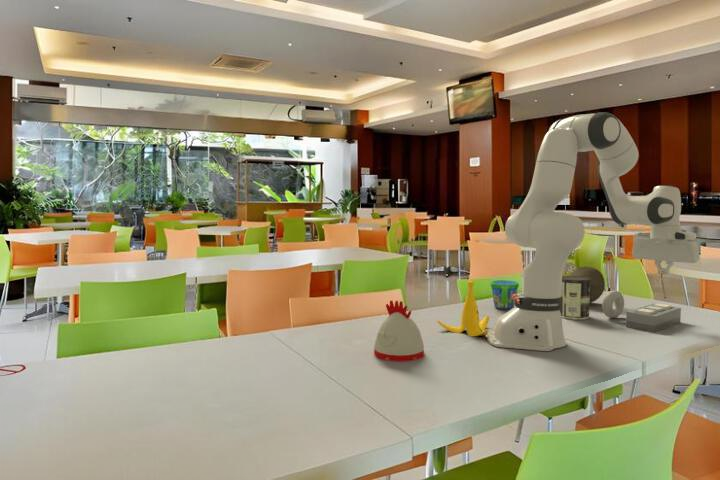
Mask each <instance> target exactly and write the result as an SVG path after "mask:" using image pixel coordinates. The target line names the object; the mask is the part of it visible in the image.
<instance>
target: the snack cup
mask: <svg viewBox="0 0 720 480" xmlns="http://www.w3.org/2000/svg"><path fill="white" fill-rule="evenodd" d="M519 285H520V284H519V282H518V281H515V280H507V279H506V280H505V279H504V280H503V279H497V280H492V281H490V287H491V291H492V301H493V306H494V308H495V309H498V310H507V311H509V310H511V309H512V308H514V307H515V301H513V299H512V295H513V294H517V293H518V292H517V291H518V289H519ZM517 295H518V294H517Z"/></svg>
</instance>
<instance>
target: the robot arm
mask: <svg viewBox="0 0 720 480" xmlns="http://www.w3.org/2000/svg"><path fill="white" fill-rule="evenodd" d="M590 151H594V152H595V155H596V157H597V158H598V161H599V165H598V167H597V176H598V178H599V179H598V180H599V182H600V185H601V188H602V190H603V193H604V195H605V198H606V201H607V205H608V209H609V215H610V217H611V219H612V221H614V223H616V224H617V225H620V226H622V225H623V226H624V225H627V226H628V225H642V226H643V225H644V226H645V225H646V226H647V225H648V226H650V228H649V232H640V231H639V232H637V233H635V234H634V235H633V237H632V243H633V245H632V251H631V256H632V257H633V259H637V260H638V259H639V260H648V261H650V260H652V261H654V264H655V266H656V269H657V274H660V275H670V269H671V268H672V266H673V265H674V263H675V262H676V263H685V264H686V263H687V264H688V263H689V264H694V263H697V262H699V259H700V249H699V243H698V242H697V241H696V239H697V234H696V232H693V231H689V230H686V229H683V228H681V221H680V215H681V212H682V197H681V192H680V189H679V188H678V187H677V186H673V185H666V184H665V185H664V184H663V185H661V184H660V185H657V186H654V187H653V189H652V192H651V193H649V194H646V195H629V194H627V193H625V191H624V189H623V186H622V183H621V181H620V180H621V179H620V177H621V176H623V175H626V174H628V173H629V171H631V170H632V169H633V168H634V167H635V166H636V164H637V162H638V160H639V157H640V154H639V149H638V146H637V145H636V143H635V141H634V139H633V138H632V136H631V134H630V133H629V131H628V129H627V128H626V127H625V126H624V124H623V123H622V122H621V120H620V119H618V118H617V117H616V115H614V114H612V113H610V112H606V111H605V112H601V111H598V112H596V113H585V114H581V113H580V114H576V115H572V116H569V117H563V118H560V119H558V120H556V121H555V122H553V123H552V124H551V125H550V127H549V129H548V131H547V133H546V134H545V135H544V137H543V138H542V142H541V145H540V148H539V151H538V152H537V157H536V161H535V166H534V171H533V176H532V180H531V184H530V187H529V190H528V193H527V195H526V197H525V198H524V200H523V202H522V204H521V205H520V206H519V208H518V209H517V210H516V211H515V212H514V213H512V214H511V215H510V216H509V217H508V218H507V220H506V221H505V225H504V226H505V227H504V231H505V232H504V233H505V236H506V238H507V240H509V242H511V243H512V244H515V245H517V246H520V247H523V248H530V249H532V248H533V249H535V254H534V256H533V258H532V260H531V262H529V263H527V264H526V265H524V267H523V269H522V275H521V277H522V278H521V279H522V281H521V294H519V295H518V294H513V295H512V299H513V301H515V305H514V308H512V309H509V310H507V312H506V313H504V314H502V315H501V316H499V318H498V319H497V321H496V324H495V327H494V331H491V332H488V334H487V338H486V339H487V342H488V343H489V344H490V345H492V346H494V347H496V348H506V349H507V348H508V349H517V350H518V349H519V350H530V351H542V352H549V351H552V350H554V349H560V348H563V347H565V346H566V345H567V341H566V338H565V333H564V327H563V318H562V313H563V297H562V296H561V289H562V277H563V273H564V269H565V265H566V262H567V260H568V258H569V257H570V255H571V254H572V252H573V251H575V249H577V248H578V247H580V245H581V244H582V243H583V240H584V237H585V234H586V233H585V225H584V222H583V221H582V220H581V218H580V217H578V216H576V215H573V214H570V213H566V212H562V211H561V212H560V211H555V209H556V208H557V207H558V205H559V204H560V203H561V202H562V201H564V200H566V199H567V198H568V197H569V196H570V194H571V192H572V187H573V182H574V178H575V177H574V176H575V172H576V166H577V160H578V159H577V158H578V153H579V152H581V153H582V152H584V153H585V152H590ZM662 261H663V262H666V263H665V264H666V265H667V266H666V267H665V268H663V266H662V263H663V262H662Z"/></svg>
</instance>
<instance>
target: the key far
mask: <svg viewBox="0 0 720 480" xmlns="http://www.w3.org/2000/svg"><path fill="white" fill-rule="evenodd" d="M654 304H655V305H653V306H654V307H661V308H663V309H667V310H669V309H671V306H672V305H670V304H664V303H654Z"/></svg>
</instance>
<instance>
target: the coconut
mask: <svg viewBox="0 0 720 480" xmlns="http://www.w3.org/2000/svg"><path fill="white" fill-rule="evenodd" d="M569 276H580V277H587V278H590V295H589V304H591V303H593V302H595V301H597V300H598V299H600V297H601V296H602V295H603V294H604V291H605V286H606V285H605V284H606V283H605V278H604V274H603V273H602V272H601V271H600V270H599V269H598V268H595V267H591V266H580V267H577V268H576V269H574V270H573V271H572V272H571V274H570V275H569Z"/></svg>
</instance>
